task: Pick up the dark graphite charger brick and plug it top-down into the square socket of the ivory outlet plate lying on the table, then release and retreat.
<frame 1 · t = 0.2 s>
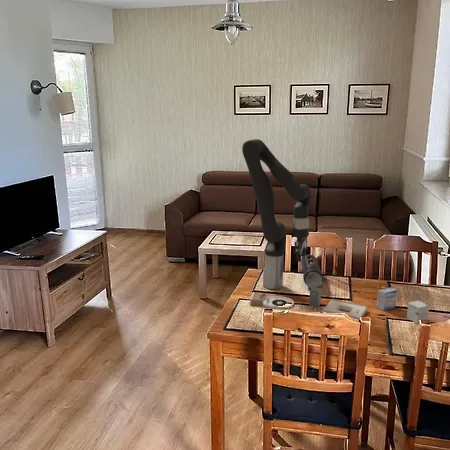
hand: (301, 258, 218), 17 cm above the table, tool pointing down, fingers open, 8 cm apart
medicine box: (385, 308, 206), on the table
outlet: (344, 312, 200), on the table
charger: (314, 305, 208), on the table
muzzle brake: (310, 281, 238), on the table
skincare box: (416, 320, 194), on the table
record player: (272, 304, 211), on the table
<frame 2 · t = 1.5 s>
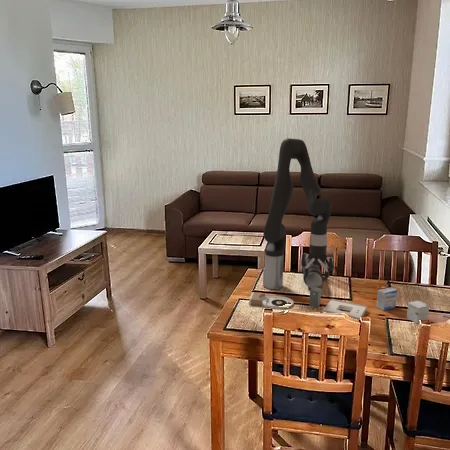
hand: (316, 277, 204), 14 cm above the table, tool pointing down, fingers open, 8 cm apart
nothing on the table moved.
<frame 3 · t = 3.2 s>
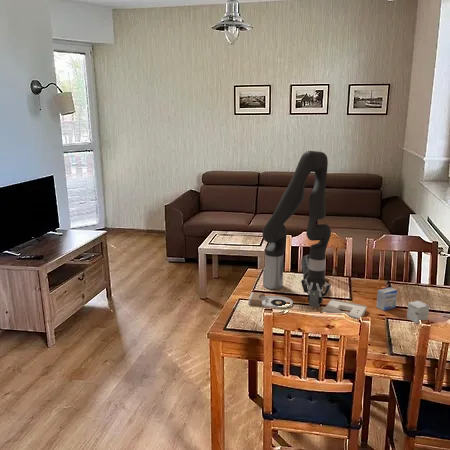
hand: (314, 302, 207), 1 cm above the table, tool pointing down, fingers closed on charger, 4 cm apart
charger: (314, 305, 208), on the table, touching gripper
everything else where it was.
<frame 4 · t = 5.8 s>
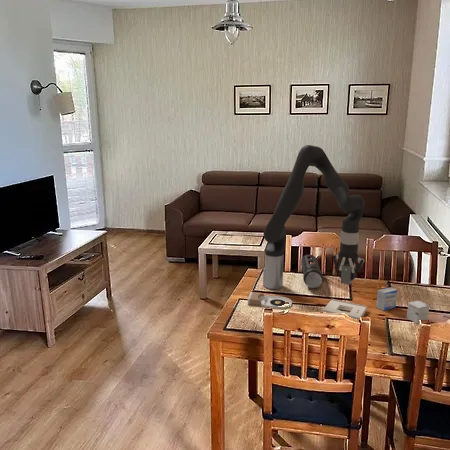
hand: (346, 279, 196), 16 cm above the table, tool pointing down, fingers closed on charger, 4 cm apart
charger: (346, 282, 196), point 15 cm above the table, touching gripper
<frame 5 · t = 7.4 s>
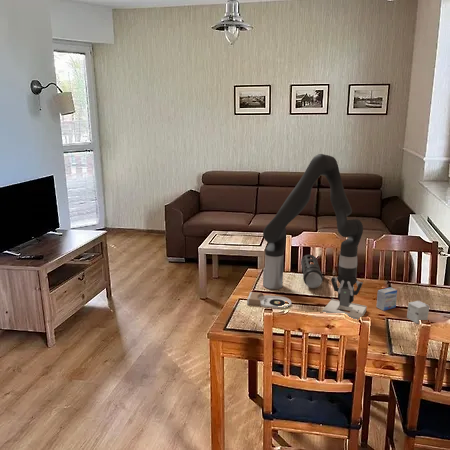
hand: (345, 301, 199), 5 cm above the table, tool pointing down, fingers closed on charger, 4 cm apart
charger: (345, 304, 199), point 4 cm above the table, touching gripper
when the fingers open (3 cm above the table, at t = 8.4 s): charger drops 1 cm, resting in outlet.
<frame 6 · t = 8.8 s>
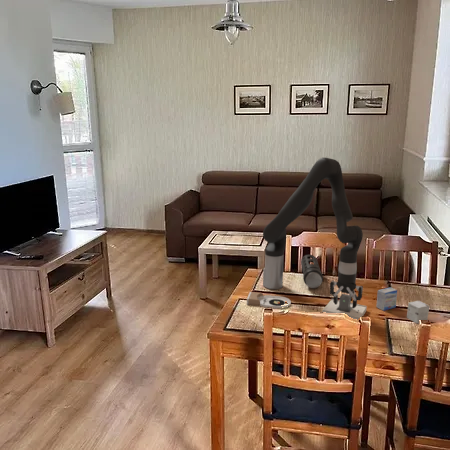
hand: (344, 305, 199), 3 cm above the table, tool pointing down, fingers open, 7 cm apart
charger: (344, 312, 200), resting in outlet
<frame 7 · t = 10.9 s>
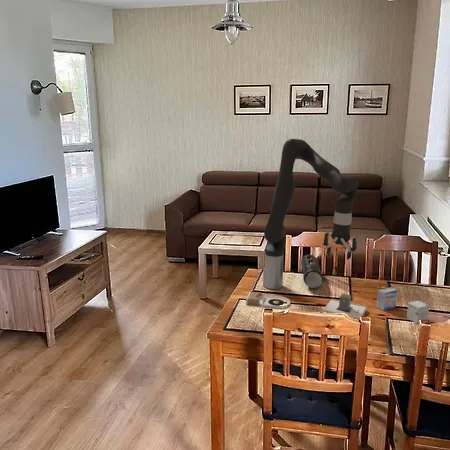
hand: (338, 257, 200), 24 cm above the table, tool pointing down, fingers open, 8 cm apart
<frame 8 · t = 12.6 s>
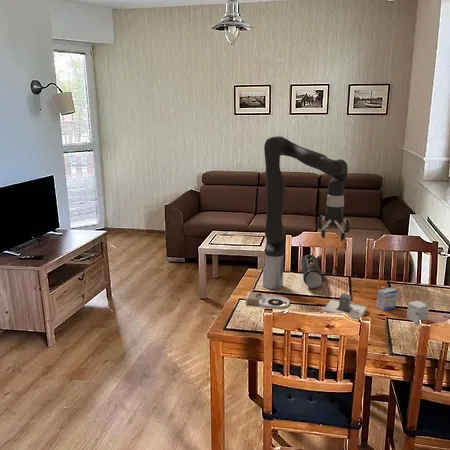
hand: (332, 239, 206), 30 cm above the table, tool pointing down, fingers open, 8 cm apart
at the end: charger 0.0 cm off-centre on the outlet, point 0.0 cm above the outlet's base; charger tilted 0°; the gripper is holding nothing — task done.
